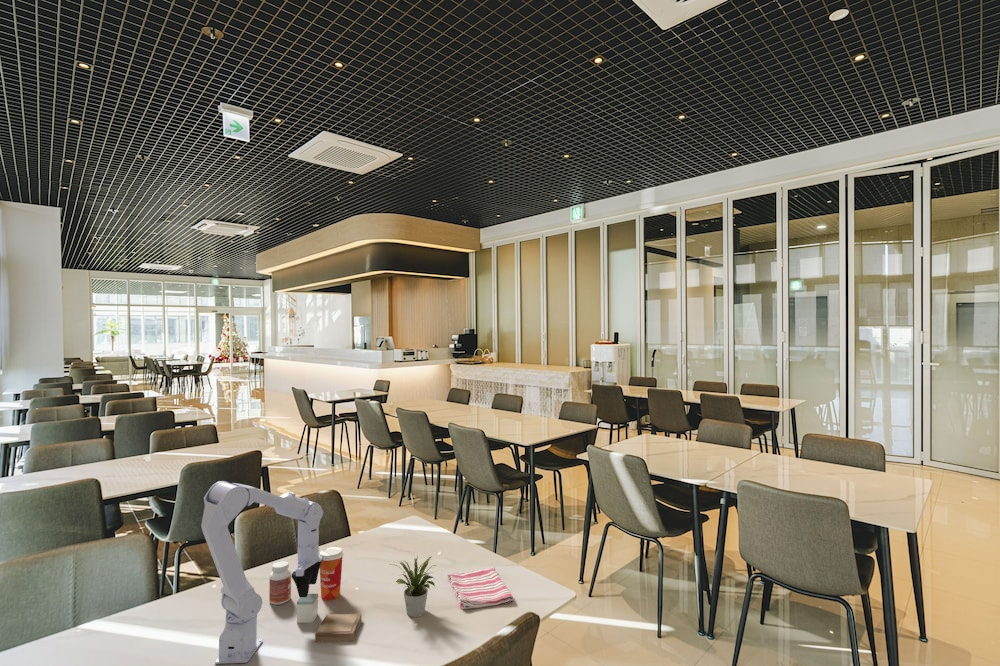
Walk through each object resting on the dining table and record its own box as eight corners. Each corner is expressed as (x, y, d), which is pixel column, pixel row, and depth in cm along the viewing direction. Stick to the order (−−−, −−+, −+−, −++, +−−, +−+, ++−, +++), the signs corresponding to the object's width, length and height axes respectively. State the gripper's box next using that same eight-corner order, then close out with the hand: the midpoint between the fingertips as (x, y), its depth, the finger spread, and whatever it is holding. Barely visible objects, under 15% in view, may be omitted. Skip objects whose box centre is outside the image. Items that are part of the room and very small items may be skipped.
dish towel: (460, 613, 149) (460, 601, 149) (446, 578, 172) (446, 568, 172) (514, 605, 154) (514, 593, 154) (494, 572, 176) (494, 562, 177)
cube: (312, 622, 143) (313, 601, 144) (296, 623, 143) (296, 601, 143) (317, 614, 148) (318, 593, 148) (302, 614, 148) (302, 593, 148)
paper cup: (312, 598, 157) (312, 553, 158) (331, 587, 164) (331, 544, 164) (330, 604, 153) (330, 558, 154) (348, 593, 160) (349, 549, 161)
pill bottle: (292, 601, 155) (293, 565, 155) (271, 607, 152) (271, 570, 152) (288, 593, 160) (289, 558, 161) (267, 598, 157) (268, 563, 157)
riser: (353, 640, 134) (353, 632, 134) (315, 642, 134) (315, 633, 134) (361, 620, 144) (361, 613, 144) (326, 621, 144) (326, 613, 144)
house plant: (388, 630, 139) (388, 570, 140) (385, 605, 153) (386, 551, 153) (439, 622, 143) (439, 565, 144) (432, 599, 157) (432, 546, 157)
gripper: (314, 552, 139) (313, 602, 139) (329, 533, 154) (329, 578, 153) (288, 553, 139) (287, 603, 138) (305, 533, 153) (305, 578, 153)
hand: (307, 590), depth 146 cm, fingers open, 7 cm apart
